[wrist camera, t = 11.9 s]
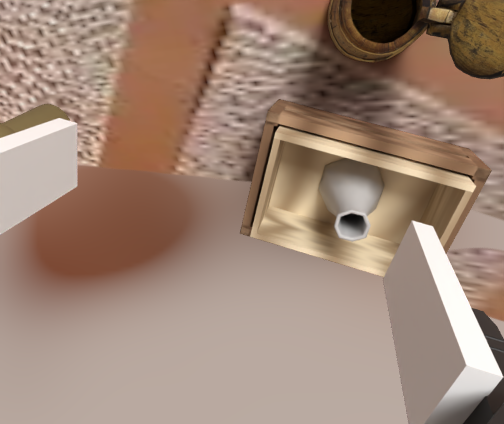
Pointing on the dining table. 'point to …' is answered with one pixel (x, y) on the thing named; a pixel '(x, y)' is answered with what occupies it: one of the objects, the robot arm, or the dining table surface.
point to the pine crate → (381, 219)
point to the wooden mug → (422, 30)
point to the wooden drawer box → (366, 137)
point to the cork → (32, 119)
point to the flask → (351, 195)
